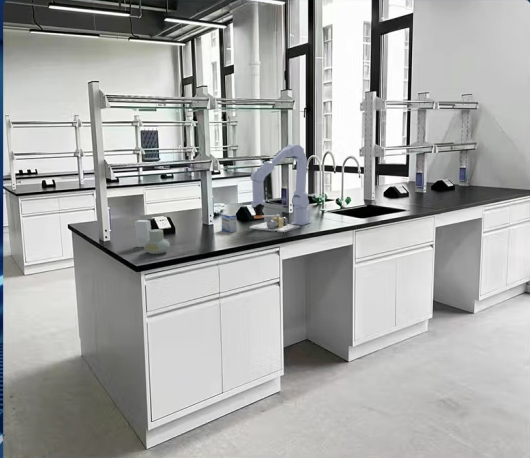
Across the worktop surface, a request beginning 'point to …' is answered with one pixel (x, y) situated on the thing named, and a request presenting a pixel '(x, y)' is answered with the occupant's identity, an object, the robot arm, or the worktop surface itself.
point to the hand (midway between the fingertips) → (258, 218)
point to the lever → (265, 216)
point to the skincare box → (142, 232)
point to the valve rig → (276, 225)
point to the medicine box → (229, 222)
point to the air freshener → (156, 242)
